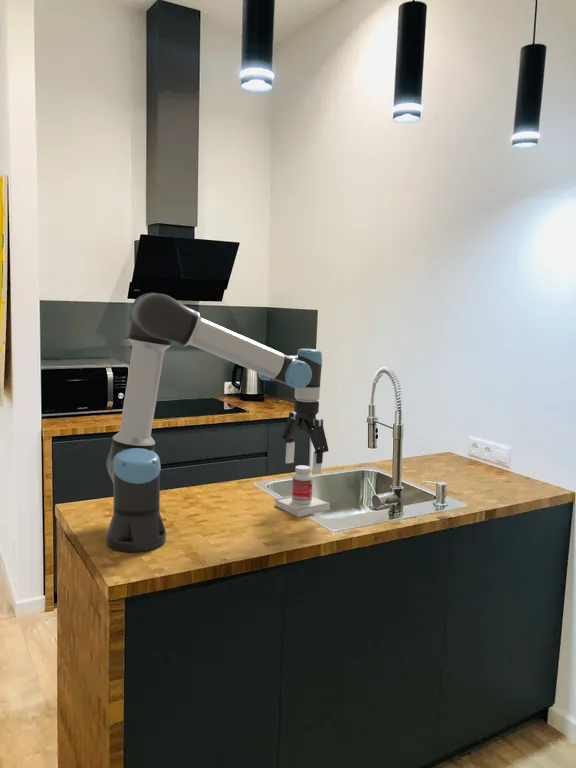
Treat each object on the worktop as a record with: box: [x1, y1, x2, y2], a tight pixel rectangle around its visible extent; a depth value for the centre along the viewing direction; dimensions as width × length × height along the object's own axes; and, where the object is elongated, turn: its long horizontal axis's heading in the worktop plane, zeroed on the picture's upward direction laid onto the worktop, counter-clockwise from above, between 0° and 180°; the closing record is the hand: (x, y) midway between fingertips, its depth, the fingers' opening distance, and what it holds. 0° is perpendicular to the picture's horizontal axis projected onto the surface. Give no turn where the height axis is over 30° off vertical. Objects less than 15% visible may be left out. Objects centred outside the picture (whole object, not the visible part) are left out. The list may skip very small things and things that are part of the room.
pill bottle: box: [291, 464, 314, 504], centre depth 196 cm, size 6×6×11 cm
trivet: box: [274, 494, 331, 518], centre depth 197 cm, size 12×12×2 cm
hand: (302, 468), depth 195 cm, fingers open, 13 cm apart
